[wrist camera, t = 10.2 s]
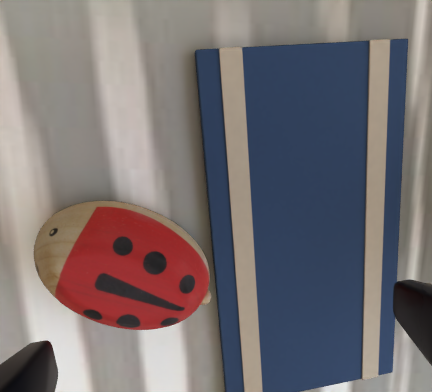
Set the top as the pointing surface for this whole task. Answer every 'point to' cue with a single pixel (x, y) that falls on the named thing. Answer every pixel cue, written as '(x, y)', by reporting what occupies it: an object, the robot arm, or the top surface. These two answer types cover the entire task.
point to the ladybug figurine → (122, 265)
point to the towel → (304, 208)
